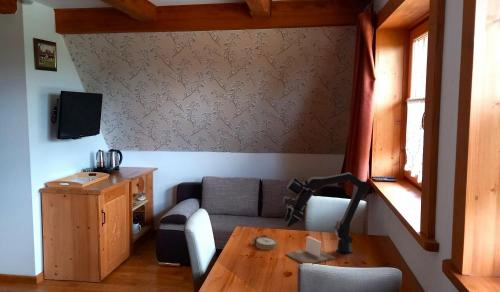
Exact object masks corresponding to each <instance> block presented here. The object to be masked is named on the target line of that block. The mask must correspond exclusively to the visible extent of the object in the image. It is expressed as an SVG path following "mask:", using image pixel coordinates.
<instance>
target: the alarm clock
mask: <svg viewBox="0 0 500 292" xmlns="http://www.w3.org/2000/svg"><path fill="white" fill-rule="evenodd" d="M251 241H252V244H253V246H256V248H257V249H260V250H262V251H271V250H275V249H276V248H277V247H279V244H278V241H277V239H275V238H273V237H271V236H268V235H266V234H262V235H260V236H257V235H256V236H254V237H253V238H252V240H251Z"/></svg>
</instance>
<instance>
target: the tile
mask: <svg viewBox="0 0 500 292" xmlns="http://www.w3.org/2000/svg"><path fill="white" fill-rule="evenodd" d="M322 244H323V243H322V241H320V240H318V239H316V238H314V237H312V236H310V235H309V236H306V244H305V249H306V250H307V251H309V252H311V253H313V254H315V255H317V256H321V251H322V247H323V246H322Z"/></svg>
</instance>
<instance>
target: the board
mask: <svg viewBox="0 0 500 292" xmlns="http://www.w3.org/2000/svg"><path fill="white" fill-rule="evenodd" d="M285 256H287V257H289V258H290V259H292V260H294V261H296V262H298V263H300V264H301V263H314V264H313V265H315V264H320V263H325V262H329V261H333V260H335V256H332V255H331V254H328V253H326V252H324V251H322V250H321V256H317V255H315V254H313V253H311V252H309V251H307V250H306V248H304V249H299V250H293V251H290V252H289V251H288V252H286V253H285Z"/></svg>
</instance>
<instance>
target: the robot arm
mask: <svg viewBox="0 0 500 292" xmlns="http://www.w3.org/2000/svg"><path fill="white" fill-rule="evenodd" d="M344 182H349V183H351V184H352V185H353V189H352V196H351V197H350V198H351V199H350V201H349V203H348V206H347V208H346V210H345V213H344V214H343V217H342V218H341V220H340V221H339V220H336V224H335V225H334V226H333V228H334V233H335V235H336V236H337V237H338V238H339V239H338V243H337V249H335V252H338V253H340V254H342V255H347V254H352V253H354V251H353V250H352V244H353V240H354V239H353V237H352V236H351V235H350V230H351V223H352V220H353V218H354V216H355V214H356V212H357V209H358V207H359V205H360V202H361V200H362V199H363V197H364V196H366V195H367V193H368V192H369V190H370V185H369V183H368V182H367V181H366V180H363V179H360V178H358V177H356V176H354V174H352V173H351V172H344V173H340V174H334V175H329V176H310V177H308V179H307V180H304V181H300V180H298V179H297V177H293V178H292V179H291V180H290V181H289V182H288V184H287V185H286V189H287V190H288V191H290V192H291V193H294V194H295V195H297V194H299V195H297V196H295V197H294V198H293V197H290V196H285V195H284V196H283V201H282V203H283V205H286V209H287V211H286V214H285V217H284V220H283V221H284V222H287V221H288V222H287V223H286V227H287V228H289V227H291V226H292V225H294V224H296V223H298V222H300V221H303V219H304V218H305V216H304V213H303V212H304V211H303V210H304V208H305V206H306V207H307V206H308V202H309V201H310V199H311V198H312V197H313V196H314V197H317V196H318V195H317V191H316V190H320V189H321V188H324V187H326V186H328V185H334V184H339V183H344Z"/></svg>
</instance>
